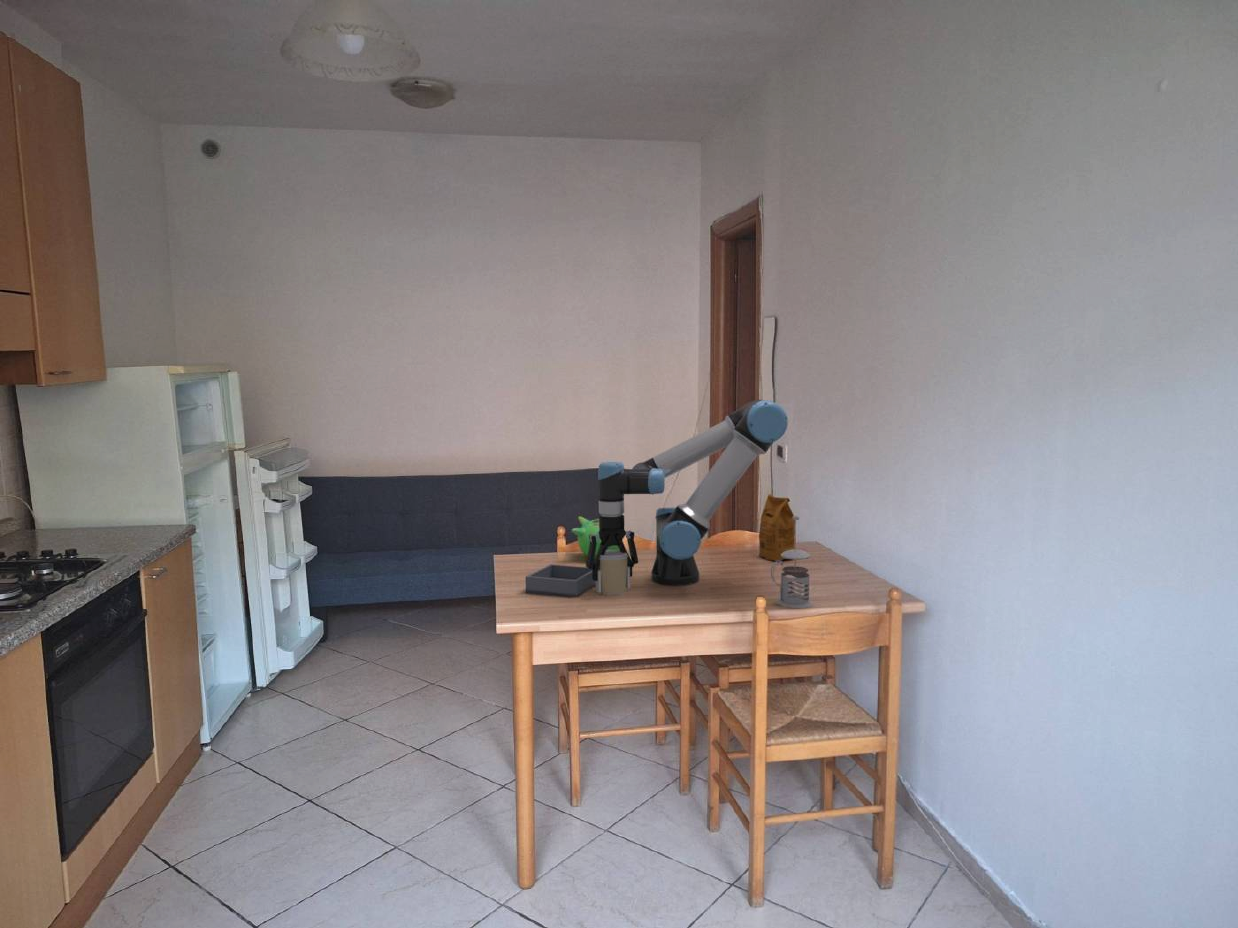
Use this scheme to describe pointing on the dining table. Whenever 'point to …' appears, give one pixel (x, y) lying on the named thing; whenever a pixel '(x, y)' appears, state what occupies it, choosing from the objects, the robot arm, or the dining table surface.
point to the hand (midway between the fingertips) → (612, 589)
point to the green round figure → (584, 533)
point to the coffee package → (776, 528)
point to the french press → (794, 579)
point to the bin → (560, 581)
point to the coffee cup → (613, 572)
